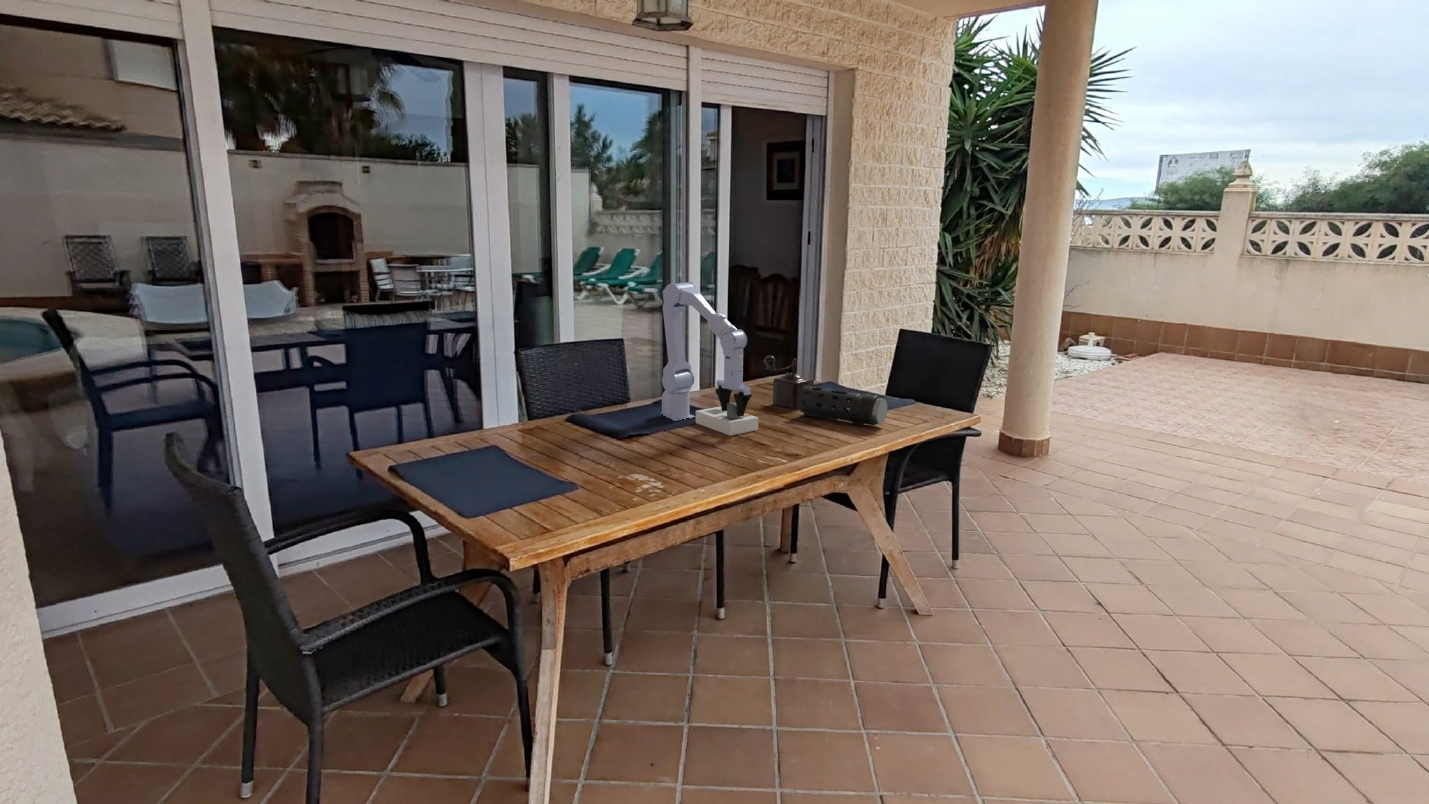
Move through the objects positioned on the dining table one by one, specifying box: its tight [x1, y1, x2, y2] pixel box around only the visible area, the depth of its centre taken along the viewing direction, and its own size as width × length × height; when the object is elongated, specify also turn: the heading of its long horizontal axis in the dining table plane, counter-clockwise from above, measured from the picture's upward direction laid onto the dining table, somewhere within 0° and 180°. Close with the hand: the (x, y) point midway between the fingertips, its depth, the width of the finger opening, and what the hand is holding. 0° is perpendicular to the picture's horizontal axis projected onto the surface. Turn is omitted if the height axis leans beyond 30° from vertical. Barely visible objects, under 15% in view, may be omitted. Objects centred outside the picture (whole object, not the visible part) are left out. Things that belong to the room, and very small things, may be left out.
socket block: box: [695, 405, 759, 436], centre depth 241 cm, size 18×11×4 cm, turn 37°
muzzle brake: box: [797, 386, 888, 426], centre depth 247 cm, size 10×28×10 cm, turn 54°
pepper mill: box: [763, 355, 815, 410], centre depth 266 cm, size 16×11×18 cm
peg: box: [727, 401, 740, 421], centre depth 236 cm, size 4×4×8 cm
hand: (732, 413), depth 236 cm, fingers open, 7 cm apart
